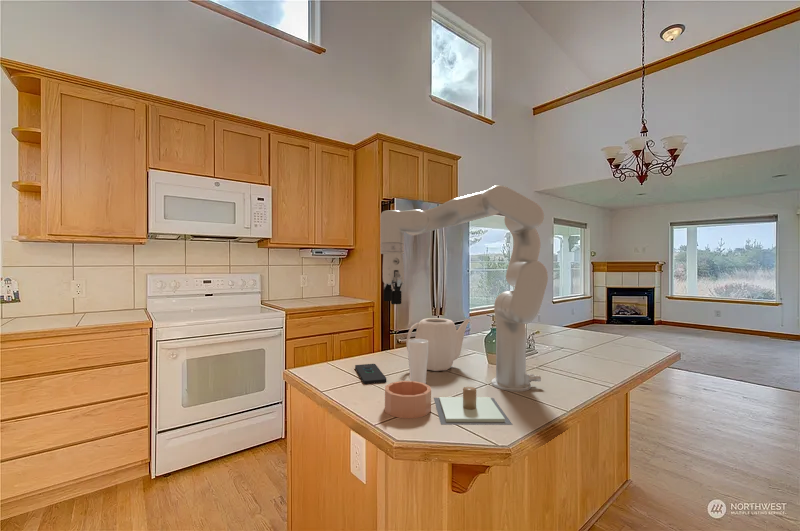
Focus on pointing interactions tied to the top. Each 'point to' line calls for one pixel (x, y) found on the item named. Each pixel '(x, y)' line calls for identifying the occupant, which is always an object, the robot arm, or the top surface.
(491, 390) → the top surface
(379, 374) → the smart home device
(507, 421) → the mat
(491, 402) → the cover sheet
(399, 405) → the bowl
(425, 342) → the drinking glass
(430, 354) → the watering can
